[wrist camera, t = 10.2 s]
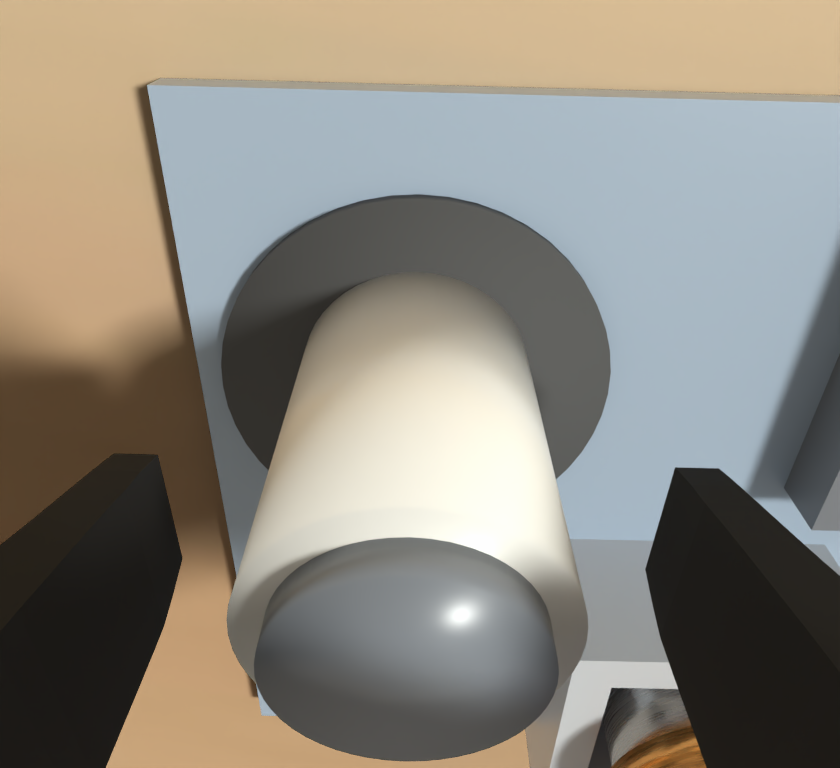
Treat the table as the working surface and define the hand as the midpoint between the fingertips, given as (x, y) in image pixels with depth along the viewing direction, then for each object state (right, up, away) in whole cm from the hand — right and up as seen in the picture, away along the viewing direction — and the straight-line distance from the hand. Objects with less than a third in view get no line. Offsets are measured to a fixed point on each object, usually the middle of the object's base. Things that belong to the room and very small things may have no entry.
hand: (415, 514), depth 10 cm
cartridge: (0, +2, +2) cm, 3 cm away
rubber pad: (0, +2, +3) cm, 3 cm away
